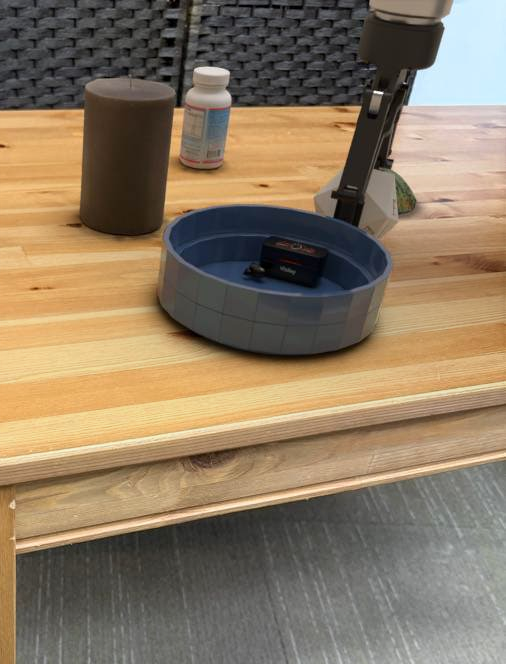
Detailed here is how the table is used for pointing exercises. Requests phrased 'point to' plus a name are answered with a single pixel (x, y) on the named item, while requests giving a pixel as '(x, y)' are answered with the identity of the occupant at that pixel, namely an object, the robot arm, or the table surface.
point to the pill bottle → (206, 119)
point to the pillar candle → (125, 154)
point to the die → (366, 203)
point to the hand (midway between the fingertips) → (346, 243)
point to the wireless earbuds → (290, 261)
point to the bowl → (270, 280)
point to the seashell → (402, 193)
